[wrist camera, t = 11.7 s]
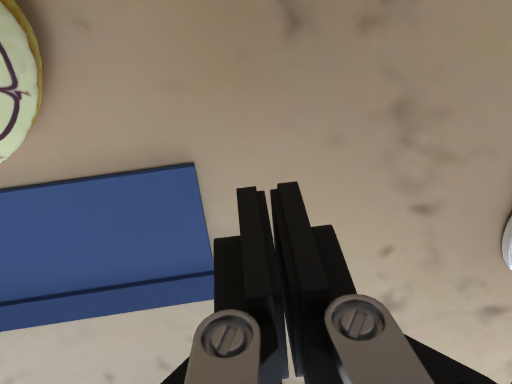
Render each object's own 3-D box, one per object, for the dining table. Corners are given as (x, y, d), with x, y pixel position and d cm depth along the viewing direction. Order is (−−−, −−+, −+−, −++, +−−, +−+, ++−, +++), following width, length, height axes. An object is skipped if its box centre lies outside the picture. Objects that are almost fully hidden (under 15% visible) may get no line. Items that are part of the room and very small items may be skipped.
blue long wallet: (194, 162, 26) (194, 169, 26) (219, 292, 33) (219, 300, 32) (-162, 211, 25) (-171, 220, 25) (-65, 335, 32) (-71, 344, 31)
